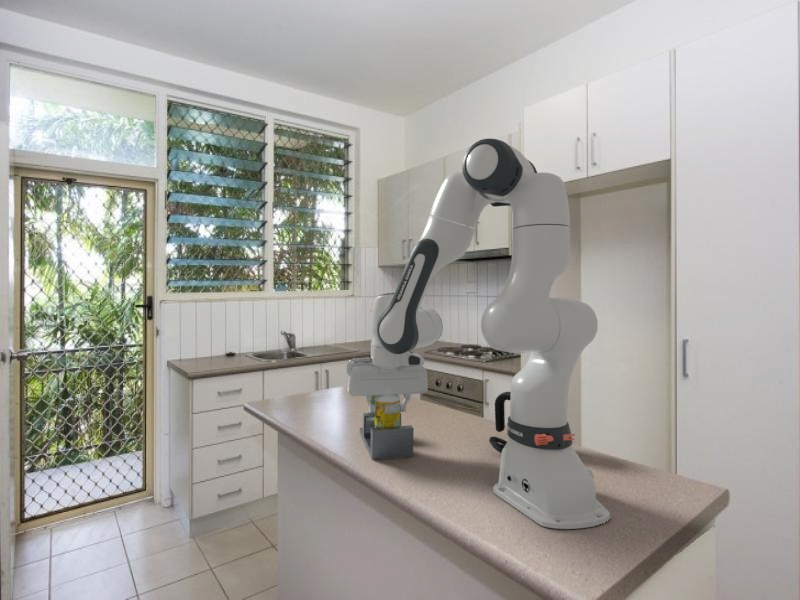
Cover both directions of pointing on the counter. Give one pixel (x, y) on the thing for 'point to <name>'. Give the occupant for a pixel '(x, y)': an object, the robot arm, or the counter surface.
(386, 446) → the vise base
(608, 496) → the counter surface
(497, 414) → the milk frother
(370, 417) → the sliding jaw
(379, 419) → the supplement bottle
